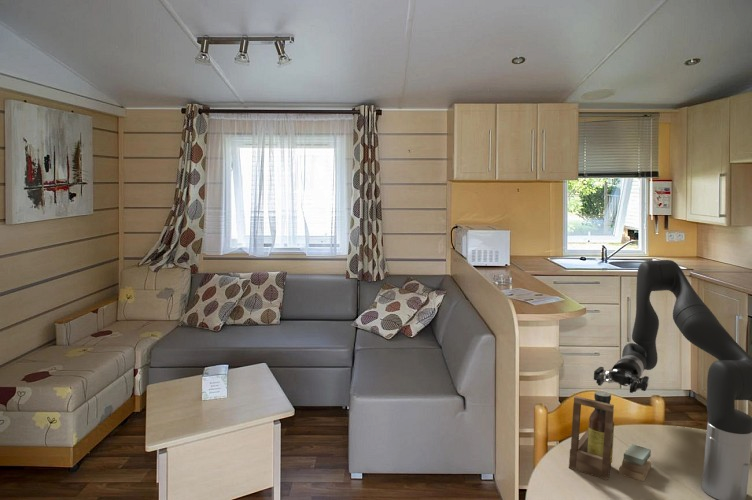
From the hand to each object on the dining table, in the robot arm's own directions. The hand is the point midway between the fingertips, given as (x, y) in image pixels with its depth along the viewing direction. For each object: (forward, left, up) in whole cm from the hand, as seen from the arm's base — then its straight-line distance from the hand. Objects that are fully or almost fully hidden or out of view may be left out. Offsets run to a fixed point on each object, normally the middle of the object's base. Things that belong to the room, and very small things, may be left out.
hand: (615, 385), depth 155 cm
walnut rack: (+1, +12, -18) cm, 22 cm away
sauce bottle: (0, +13, -18) cm, 23 cm away
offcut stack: (-8, +10, -18) cm, 23 cm away
